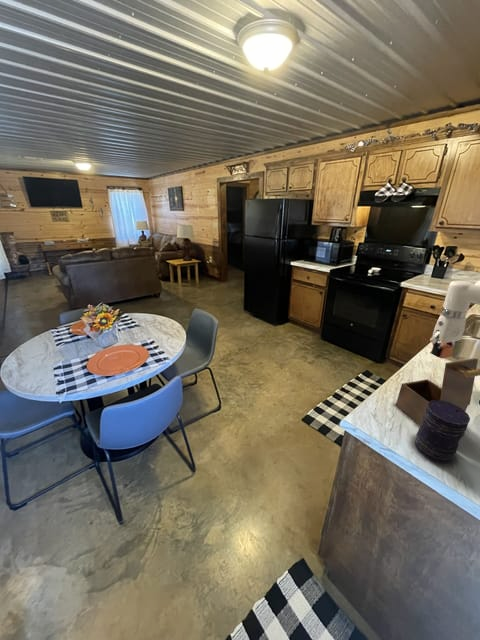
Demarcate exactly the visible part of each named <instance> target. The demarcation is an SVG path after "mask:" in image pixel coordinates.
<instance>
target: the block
mask: <svg viewBox="0 0 480 640" xmlns="http://www.w3.org/2000/svg"><path fill="white" fill-rule="evenodd" d="M441 348H442V351H441V354H440V357H438V358H439V359H447V358H451V355H452V353H453V351H454V350H453V349H454V346H450V345H448V344H446V343H443V345H442V347H441ZM432 350H433V347H432V348H431V352H430V354H432Z"/></svg>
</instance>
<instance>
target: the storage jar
mask: <svg viewBox="0 0 480 640" xmlns="http://www.w3.org/2000/svg"><path fill="white" fill-rule="evenodd" d="M470 421H471V417H470V415H469V413H467V412H466V411H464V410H463V409H461V408H460V407H458V406H456V405H454V404H452V403H450V402H446V401H442V400H432V401H430V402H429V403H428V405H427V408H426V410H425V412H424V415H423V422H422V425H421V426H419V428H418V430H417V432H416V436H415V439H414V444H413V445H414V447H415V449H416V450H417V452H418V453H419V454H420V455H422V456H423V457H424V458H426V459H427V460H429V461H431V462H433V463H436V464H441V465H447V464H450V463H451V462H452V461H453V459H454V457H455V455H456V454H457V451H458V449H459V444H460V440H461V439H462V438H463V437H464V436H465V433H466V432H467V429H468V426H469V423H470Z"/></svg>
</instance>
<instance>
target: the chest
mask: <svg viewBox="0 0 480 640" xmlns="http://www.w3.org/2000/svg"><path fill="white" fill-rule="evenodd" d="M441 390H442V387H441V386H439V385H438V384H436V383H434V382H433V381H431V380H430V379H427V378H426V379H421V380H415V381H410V382H403V383H401V386H400V389H399V392H398V396H397V399H396V403H395V407H397V408H398V409H399V410H400V411H401V412H403V413H404V414H405V415H406V416H407V417H409V418H410V419H411V420H412V421H413V422H414V423H416V425H418V427H420V426H421V425H422V422H423V415H424V412H425V410H426V408H427V405H428V403H429V402H430V401H432V400H440V397H441ZM468 406H469V405H467V406H462V407H460V408H461V409H463V410H464V411H465V412H466V411H467V409H468Z"/></svg>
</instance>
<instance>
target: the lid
mask: <svg viewBox="0 0 480 640" xmlns="http://www.w3.org/2000/svg"><path fill="white" fill-rule="evenodd" d="M478 362H479V358H476V357H474V358H468V359H462V360H455V361H450V362H445V364H444V371H443V378H442V385H441V388H442V390H441V397H440V400H442V401H446V402H450V403H452V404H454V405H456V406H458V407H462V406H467V405H468V406H470V405H471V401H472V395H473V390H474V384H475V380H476V379H475V378H476V377H479V376H480V368H477V367H478Z"/></svg>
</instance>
